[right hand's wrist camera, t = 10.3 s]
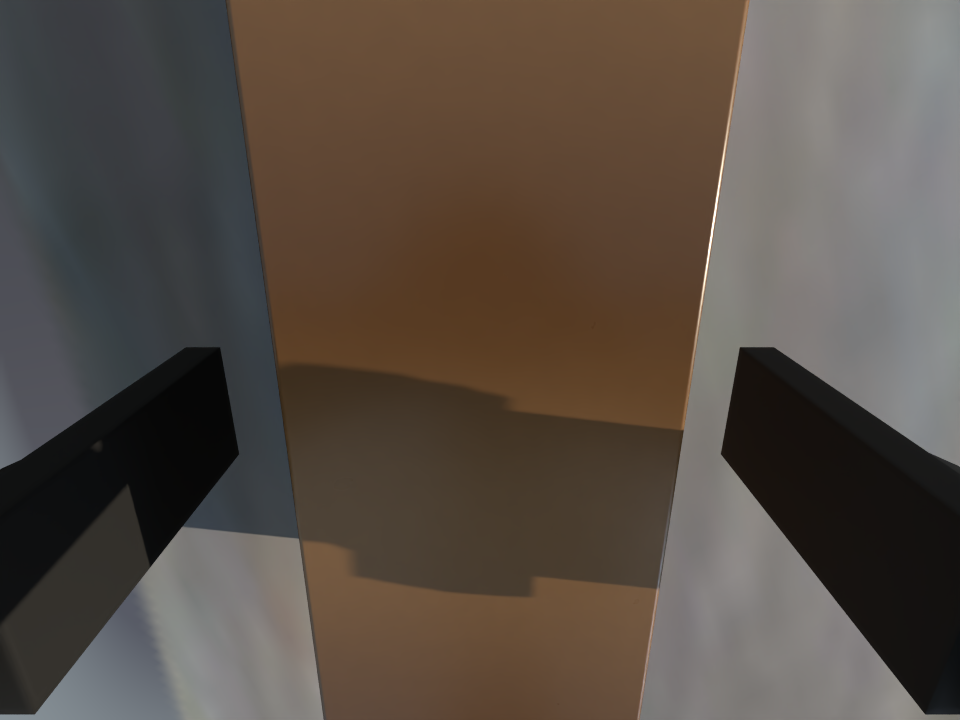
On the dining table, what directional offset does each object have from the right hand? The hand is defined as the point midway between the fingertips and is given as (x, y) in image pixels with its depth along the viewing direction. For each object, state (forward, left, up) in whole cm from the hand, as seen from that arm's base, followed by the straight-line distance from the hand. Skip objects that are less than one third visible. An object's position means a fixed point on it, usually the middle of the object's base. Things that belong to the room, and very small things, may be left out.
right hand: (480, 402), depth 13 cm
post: (+17, +29, -3) cm, 34 cm away
